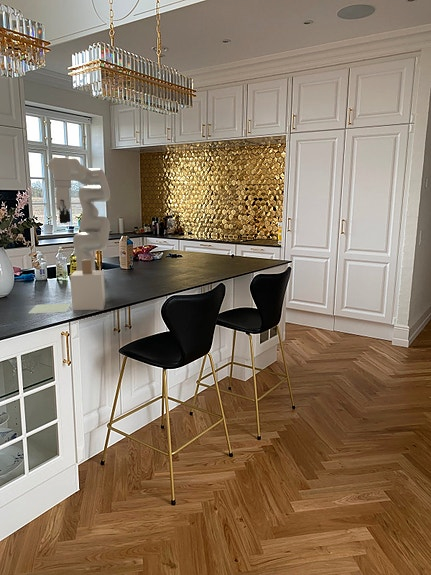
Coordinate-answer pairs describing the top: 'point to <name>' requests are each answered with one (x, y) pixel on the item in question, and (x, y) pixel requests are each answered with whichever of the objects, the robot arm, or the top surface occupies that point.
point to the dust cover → (87, 288)
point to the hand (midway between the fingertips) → (65, 222)
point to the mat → (50, 308)
